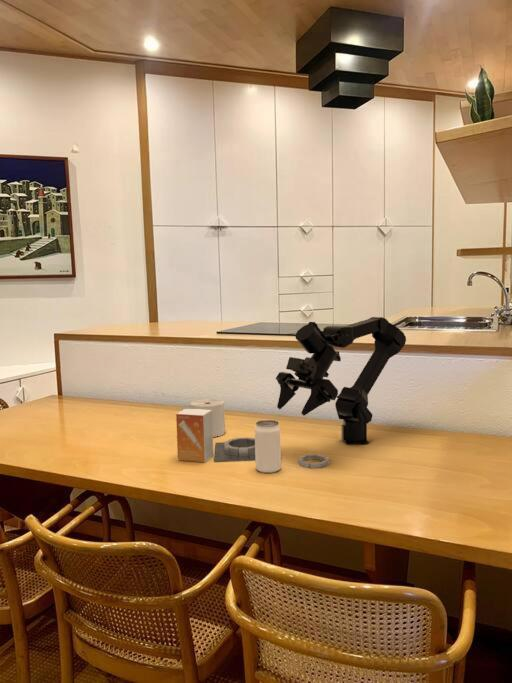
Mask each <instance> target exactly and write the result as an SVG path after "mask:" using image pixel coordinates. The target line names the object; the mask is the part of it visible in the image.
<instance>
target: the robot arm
mask: <svg viewBox="0 0 512 683" xmlns="http://www.w3.org/2000/svg"><path fill="white" fill-rule="evenodd" d="M368 335H371V337H372V338H373V339H374V342H373V343H374V350H373V353H371V355H370V357H369V359H368V361H367V362H366V364H365V366H363V369H362V371H361V372H360V374H359V376H358V377H357V379H356V380H355V382H354V383H353V385H352V386H351V387H348V386H343V387H342V388H341V391H340V392H339V389H338V388H337V387H336V386H335V385H334V383H333V382H332V381H331V380H330V379H327V378H328V377H329V375H330V374H329V373H328V371H329V369H330V368H331V365H332V364H333V362H341V361H342V360H341V356H340V351H338V350H335V348H339V349H343V348H344V349H345V348H347V347H348V346H350V345H351V344H353V343H354V342H355V340H356V339H359V338H363V337H364V336H368ZM294 337H295V339H296V341H297V343H299V344H300V345H301V347H302V348H303V349H304V350H305V351H306V353H308V354H312V355H311V356H310V357H307V356H306V357H305V358H304V359H303V358H299V357H292V356H290V357H289V358H288V360H287V364H286V367H285V369H286V370H290V371H293V372H294V375H295V376H296V377H298V379H297V378H296V377H295V376H294V375H293V374H292V373H290V372H286V371H285V372H284V371H281V372H278V374H277V375H276V377H275V380H276V381H277V383H278V385H279V387H280V388H279V389H280V392H279V397H278V400H277V405H276V406H277V407H276V408H277V409H278V410H281V409H282V408H283V407H285V405H287V404H288V402H289V401H291V399H292V398H294V396H295V395H297V394H296V392H297V391H298V390H299V388H303V389H307V390H308V389H309V390H310V395H309V397H308V399H307V400H306V402H305V405H304V406H303V408H302V410H301V415H302V416H306V415H308V414H309V413H310V412H312V411H314V410H315V409H317V408H318V407H320V406H323V405H324V404H326V403H327V402H328V403H330V402H331V401H335V404H334V405H335V411H336V413H337V414H336V415H337V417H338V419H339V420H342V422H343V423H342V424H341V439H342V440H343V441H344V443H345V444H346V445H354V444H355V445H358V444H361V445H362V444H369V440H368V436H367V435H368V431H367V430H368V428H367V427H368V424H369V423H371V422H372V418H373V413H372V412H371V411H370V410H369V408H368V406H369V396H368V395H369V394H370V391H371V390H372V388H373V387H374V385H375V384H376V381H377V380H378V379H379V377H380V375H381V373H382V372H383V370H384V368H385V367H386V365H387V363H388V361H390V358H392V357H394V356H395V355H397V354H399V353H400V351H401V350H402V349H403V348H404V347H405V345H406V342H407V338H406V337H407V336H406V335H405V333H404V331H402V330H401V329H400V328H399V327H398V326H396V325H394V324H392V323H390V322H389V320H388V319H387V318H385V317H383V316H382V317H381V316H380V317H379V316H371V317H369V318H368V319H367V318H366V319H365V320H361V321H358V322H354V323H352V324H351V323H350V324H348V325H347V324H346V325H327V326H325V327H324V328H323V330H321V329H320V327H319V326H318V324H317V323H316V322H315V321H308V323H307V324H306V325H304V326H302V327H301V328H299V329H298V330H297V331H296V333H295V336H294ZM336 398H337V399H336Z"/></svg>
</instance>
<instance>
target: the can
mask: <svg viewBox="0 0 512 683" xmlns="http://www.w3.org/2000/svg"><path fill="white" fill-rule="evenodd" d="M255 424H256V425H255V427H254V438H255V460H254V461H255V469H256V470H257V471H258V472H259V473H263V474H273V473H277V472H279V471H280V470H281V469H282V448H281V447H282V446H281V445H282V444H281V428H280V425H279V422H278V421H277V420H275V419H274V420H273V419H272V420H271V419H264V420H263V419H262V420H258V421H257V422H255Z"/></svg>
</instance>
